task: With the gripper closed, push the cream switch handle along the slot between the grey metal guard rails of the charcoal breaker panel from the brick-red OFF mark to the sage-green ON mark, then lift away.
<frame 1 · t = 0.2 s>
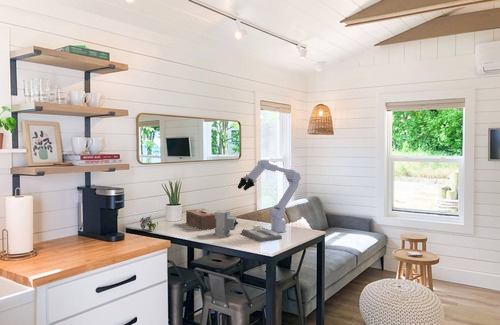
hand: (241, 188, 250), 31 cm above the table, tool tilted 45°, fingers open, 7 cm apart
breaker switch: (256, 228, 257), point 4 cm above the table, slide at 0.0 cm
circuit breaker: (226, 234, 255), on the table
breaker panel: (261, 236, 252), on the table
passion flower: (148, 230, 264), on the table
tissue box cover: (202, 226, 280), on the table
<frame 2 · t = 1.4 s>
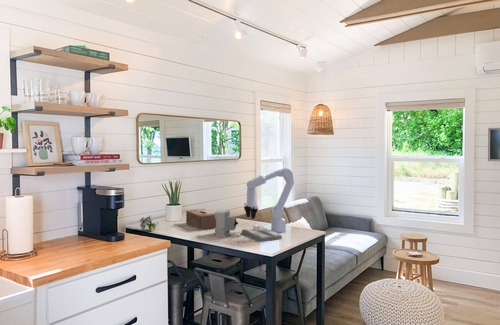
hand: (250, 217, 263), 9 cm above the table, tool pointing down, fingers open, 6 cm apart
nothing on the table moved.
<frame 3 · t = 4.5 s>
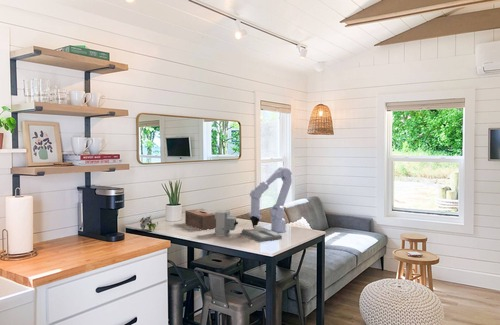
hand: (254, 227, 259), 4 cm above the table, tool pointing down, fingers closed
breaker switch: (257, 228, 256), point 4 cm above the table, slide at 0.9 cm, touching gripper
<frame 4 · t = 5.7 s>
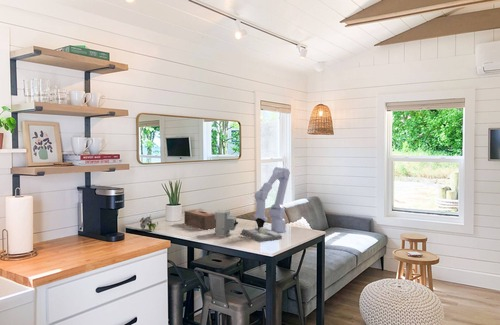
hand: (260, 230, 253), 4 cm above the table, tool pointing down, fingers closed
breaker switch: (262, 230, 250), point 4 cm above the table, slide at 7.9 cm, touching gripper
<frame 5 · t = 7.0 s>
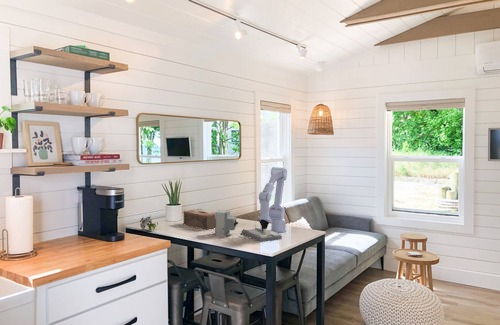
hand: (264, 231, 248), 4 cm above the table, tool pointing down, fingers closed
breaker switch: (266, 232, 246), point 4 cm above the table, slide at 12.8 cm, touching gripper
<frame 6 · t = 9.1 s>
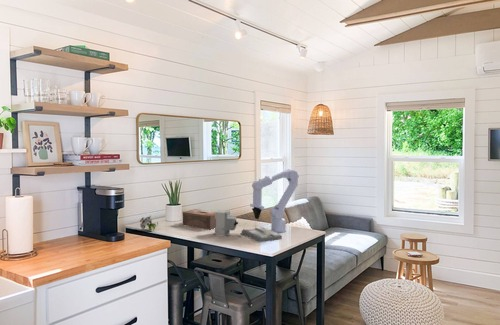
hand: (256, 218, 261), 9 cm above the table, tool pointing down, fingers closed
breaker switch: (266, 232, 246), point 4 cm above the table, slide at 13.0 cm
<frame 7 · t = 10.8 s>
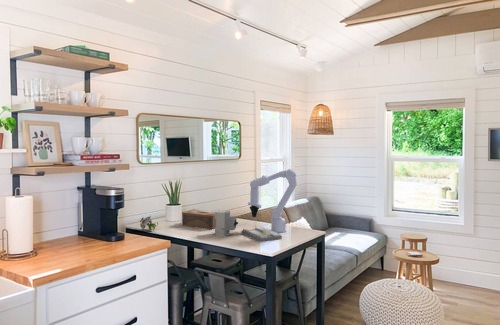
hand: (254, 216, 267), 9 cm above the table, tool pointing down, fingers closed
at the end: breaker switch slide at 13.0 cm; circuit breaker moved 0.2 cm from its start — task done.
